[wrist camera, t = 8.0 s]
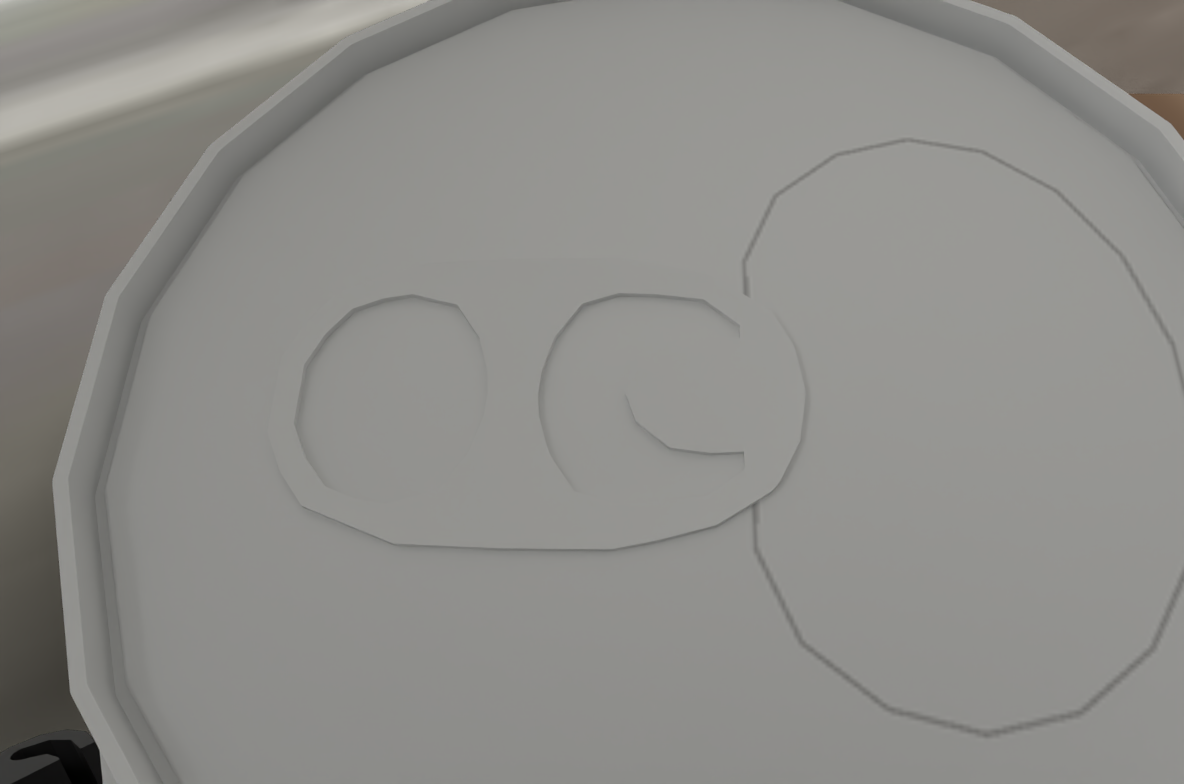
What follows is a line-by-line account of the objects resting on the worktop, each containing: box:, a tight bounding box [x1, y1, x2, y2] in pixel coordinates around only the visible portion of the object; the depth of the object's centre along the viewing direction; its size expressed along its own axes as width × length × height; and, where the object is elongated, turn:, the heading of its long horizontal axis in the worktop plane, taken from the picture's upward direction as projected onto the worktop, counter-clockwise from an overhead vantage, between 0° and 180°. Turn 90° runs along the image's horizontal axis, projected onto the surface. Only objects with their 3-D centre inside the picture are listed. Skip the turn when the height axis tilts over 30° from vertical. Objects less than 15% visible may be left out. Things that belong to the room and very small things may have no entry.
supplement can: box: [52, 0, 1184, 784], centre depth 12 cm, size 8×8×15 cm
